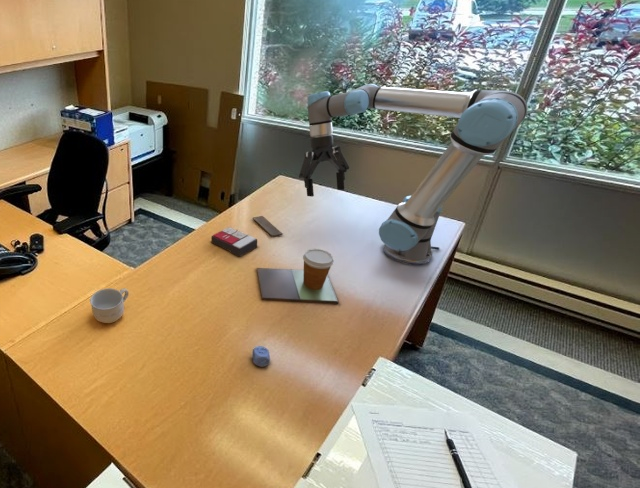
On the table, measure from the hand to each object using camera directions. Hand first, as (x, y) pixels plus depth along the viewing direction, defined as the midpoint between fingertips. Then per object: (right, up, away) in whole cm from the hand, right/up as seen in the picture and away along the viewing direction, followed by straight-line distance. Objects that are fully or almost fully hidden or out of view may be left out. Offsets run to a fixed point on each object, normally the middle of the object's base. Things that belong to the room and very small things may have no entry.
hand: (325, 192), depth 155 cm
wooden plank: (-14, -13, +26) cm, 32 cm away
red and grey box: (-31, -20, +15) cm, 40 cm away
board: (-16, -33, -10) cm, 38 cm away
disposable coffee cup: (-10, -33, -11) cm, 36 cm away
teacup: (-80, -42, -17) cm, 91 cm away
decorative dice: (-37, -51, -37) cm, 73 cm away
